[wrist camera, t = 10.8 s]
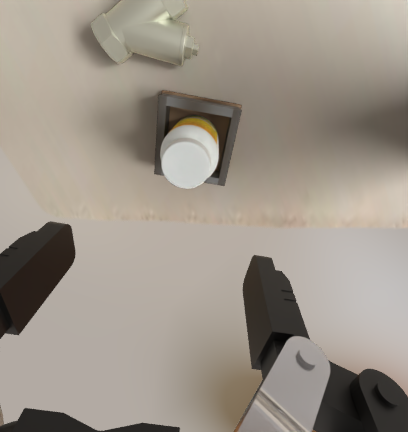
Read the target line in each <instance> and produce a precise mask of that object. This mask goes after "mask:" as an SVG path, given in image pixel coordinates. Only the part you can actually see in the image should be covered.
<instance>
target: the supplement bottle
mask: <svg viewBox="0 0 408 432" xmlns="http://www.w3.org/2000/svg"><path fill="white" fill-rule="evenodd" d="M160 157H161V167H162V171H163V174H164V176H165V177H166V179H167V180H168V181H169V182H170V183H172V184H173V185H175V186H176V187H179V188H184V189H190V188H195V187H197V186H199V185H201V184H202V183H203V182H204V181H205V180H206V179H207V178H209V177H210V176H211V175H212V173H213V172H214V171H215V169H216V167H217V164H218V159H219V139H218V133H217V130H216V128H215V127H214V125H213V124H212V123H211V122H210V121H209V120H208V119H206V118H204V117H202V116H198V115H190V116H187V117H184V118H182V119H181V120H180V121H179V122H178V123H177V124H176V125H175V126H174V127H173V129H172V130H171V131H170V132H169V133H168V134H167V135H166V137H165V138H164V140H163V142H162V145H161V150H160Z"/></svg>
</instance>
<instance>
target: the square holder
mask: <svg viewBox="0 0 408 432" xmlns="http://www.w3.org/2000/svg"><path fill="white" fill-rule="evenodd" d="M241 107H242V105H239V104H234V103H229V102H223V101H218V100H212V99H207V98H202V97H196V96H191V95H186V94H180V93H175V92H170V91H164V90H163V91H162V94H160V95H159V98H158V116H157V135H156V153H155V171H154V174H157V175H163V176H164V174H163V171H162V167H161V157H160V150H161V145H162V142H163V140H164V138H165V137H166V135H167V134H168V133H169V132H170V131H171V130H172V129H173V127H174V126H175V125H176V124H177V123H178V122H179V121H180V120H181V119H182V118H184V117H187V116H190V115H198V116H202V117H204V118H206V119H208V120H209V121H210V122H211V123H212V124H213V125H214V127H215V128H216V130H217V133H218V139H219V159H218V164H217V167H216V169H215V171H214V172H213V173H212V175H211V176H210V177H209V178H207V179H206V180H205V181H204V183H210V184H216V185H221V186H224V185H225V181H226V177H227V172H228V168H229V163H230V159H231V155H232V150H233V146H234V142H235V137H236V133H237V128H238V124H239V120H240V115H241V111H242V110H241Z"/></svg>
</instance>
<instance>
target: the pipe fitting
mask: <svg viewBox="0 0 408 432" xmlns="http://www.w3.org/2000/svg"><path fill="white" fill-rule="evenodd" d="M187 9H188V7H187V5H186V3H185V1H184V0H121V1H120V2H119V3H118V4H116V5H115V6H114V7H113V8H112V9H111V10H110V11H109V12H108V13H107V14H105V13H103V14H100V15H99V16H98V17H97V18H96V19H95V20H94V21H93V22H92V23H91V27H92V31H93V33H94V35H95V37H96V39H97V41H98V42H99V44H100V45H101V47H102V48H103V49H104V51H105V52H106V53H107V54H108V55H109V56H110V57H111V58H112V59H113V60H114V61H115V62H116V63H118V64H120V63H123V62H125V61H126V60H127V59H128V58H129V57H131V56H132V55H133V52H134V53H137V54H140V55H144V56H147V57H151V58H154V59H158V60H161V61H165V62H168V63H172V64H175V65H178V66H183V62H184V58H188V59H191V58H192V54H193V55H197V53H198V48H199V45H197V44H194V41H195V38H194V37H191V36H188V33H189V25H188V24H185V23H182V22H178V21H175V20H176V19H177V18H178V17H179V16H181V15H182V14H183V13H184V12H185V11H187Z"/></svg>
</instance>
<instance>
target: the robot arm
mask: <svg viewBox="0 0 408 432" xmlns="http://www.w3.org/2000/svg"><path fill="white" fill-rule="evenodd" d="M74 259H75V246H74V241H73V234H72V229H71V226H70V225H68V224H62V223H56V222H48V223H46V224H45V225H44V226H43V227H42V228H41V229H39V230H38V231H37V232H35V231H33V232H31V233H29V234H27V235H25V236H23V237H20V238H19V239H18V240H17V241H15V242H14V243H13V244H12V245H10V246H9V248H8V249H5V250H4V251H3V252H2V253H1V254H0V339H1V337H2V336H3V335H4V334H5V333H7V334H14V335H19V334H20V333H21V332H22V330H23V329H24V328H25V326H26V325H27V324H28V322H29V321H30V320H31V318H32V317H33V316H34V314H35V313H36V312H37V310H38V309H39V308H40V306H41V305H42V304H43V303H44V301H45V300H46V298H47V297H48V296H49V294H50V293H51V292H52V291H53V289H54V288H55V287H56V285H57V284H58V283H59V282H60V280H61V279H62V278H63V276H64V275H65V273H66V272H67V271H68V270H69V268H70V267H71V266H72V264H73V262H74ZM243 298H244V305H245V314H246V323H247V332H248V340H249V349H250V357H251V365H252V369H257V370H261V371H262V377H263V380H262V382H261V384H260V385H259V387H258V389H257V391H256V393H255V394H254V396H253V398H252V400H251V402H250V403H249V405H248V407H247V408H246V410H245V412H244V414H243V416H242V417H241V419H240V421H239V423H238V424H237V426H236V428H235V430H234V431H233V432H312V429H313V430H315V431H317V432H408V397H407V395H406V394H405V392H404V391H403V390H402V389H401V388H400V386H399V385H398V384H397V383H396V382H395V381H393V380H392V379H391V378H390V377H388V376H387V375H385V374H383V373H382V372H379V371H377V370H374V369H366V370H363V371H362V372H361V373H360V374H359V375H357V374H355V373H353V372H351V371H349V370H347V369H345V368H342V367H340V366H338V365H336V364H334V363H332V362H330V361H329V360H328V359H327V357H326V355H325V354H324V352H323V351H322V350H321V349H320V347H319V346H317V345H316V344H315V343H314V342H312V341H311V340H310V338H309V336H308V333H307V330H306V327H305V324H304V321H303V318H302V316H301V313H300V310H299V307H298V304H297V303H296V298H295V295H294V294H293V290H292V287H291V284H290V281H289V280H288V279H287V277H286V276H285V275H284V274H283V273H282V271H276V270H275V267H274V264H273V261H272V258H269V257H264V256H257V255H254V256H253V257H252V259H251V262H250V265H249V268H248V270H247V273H246V276H245V279H244V283H243ZM179 430H180V428H179V427H171V426H163V425H155V424H147V423H140V424H135V425H130V426H125V427H120V428H115V429H110V430H105V431H97V430H95V429H93V428H91V427H89V426H87V425H85V424H83V423H81V422H80V421H77V420H76V419H74V418H72V417H70V416H68V415H66V414H64V413H60V412H52V411H44V410H36V409H28V408H25V409H24V410H23V412H22V414H21V416H20V417H19V419H18V421H14V422H11V423H8V424H4V422H3V414H2V410H1V407H0V432H179Z"/></svg>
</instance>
